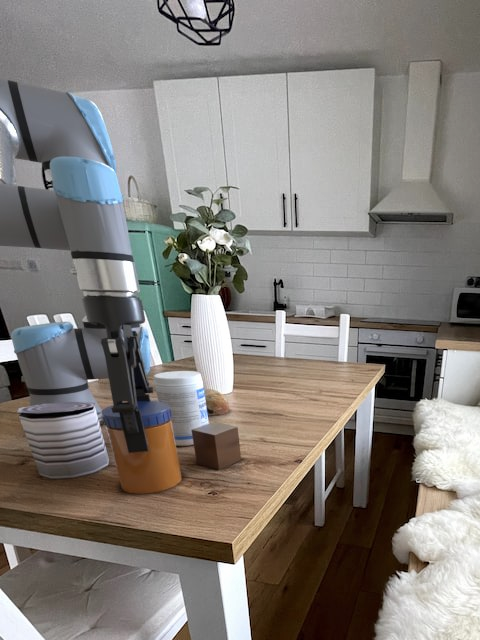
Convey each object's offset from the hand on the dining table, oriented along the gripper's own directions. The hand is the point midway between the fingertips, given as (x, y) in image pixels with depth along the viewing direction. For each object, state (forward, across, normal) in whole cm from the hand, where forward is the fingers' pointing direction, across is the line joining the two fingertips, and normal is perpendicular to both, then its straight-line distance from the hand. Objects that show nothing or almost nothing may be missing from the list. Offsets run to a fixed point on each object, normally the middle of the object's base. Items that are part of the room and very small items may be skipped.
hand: (143, 440), depth 66 cm
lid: (-5, 0, 0) cm, 5 cm away
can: (+8, -11, -14) cm, 20 cm away
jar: (+8, 0, 0) cm, 8 cm away
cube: (+8, -6, +11) cm, 15 cm away
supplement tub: (+8, -21, +5) cm, 23 cm away
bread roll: (+8, -45, +10) cm, 47 cm away
